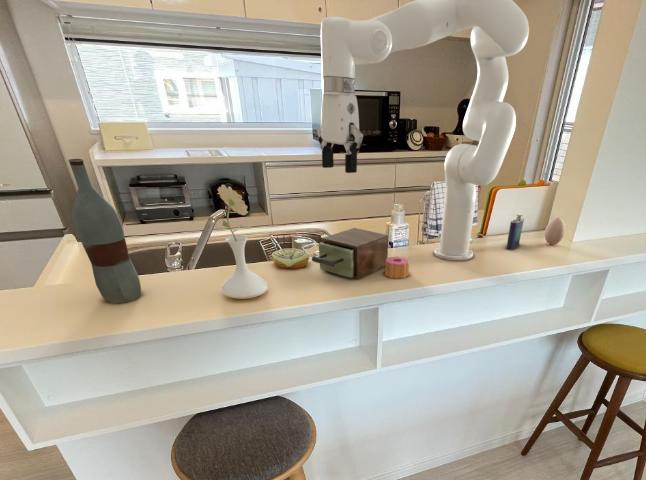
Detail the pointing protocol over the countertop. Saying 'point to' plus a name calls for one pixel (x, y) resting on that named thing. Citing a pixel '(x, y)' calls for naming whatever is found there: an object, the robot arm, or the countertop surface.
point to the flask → (515, 233)
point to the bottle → (103, 241)
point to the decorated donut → (290, 258)
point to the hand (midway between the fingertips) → (339, 169)
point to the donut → (396, 267)
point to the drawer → (336, 259)
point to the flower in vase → (239, 254)
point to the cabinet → (363, 249)
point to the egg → (555, 231)
